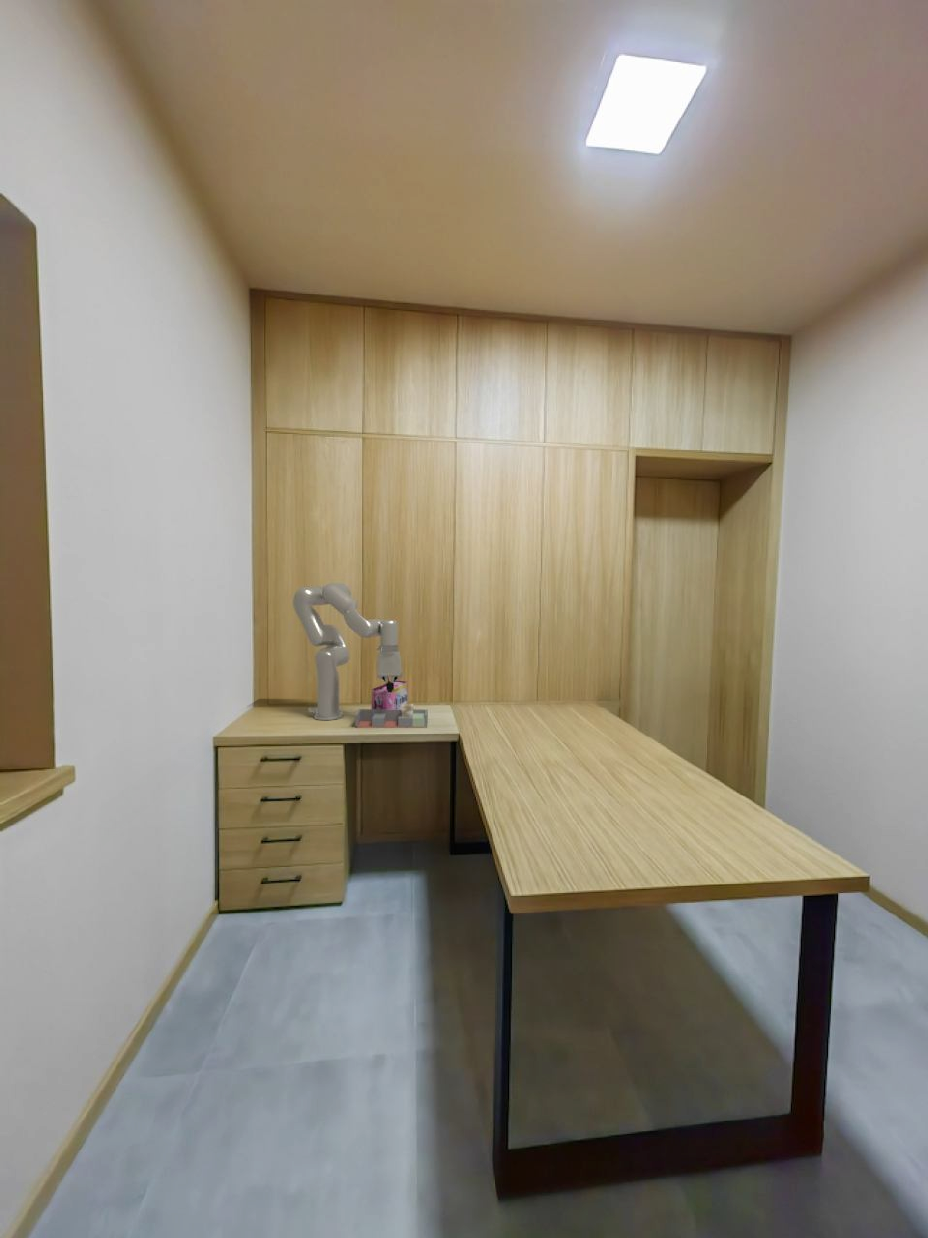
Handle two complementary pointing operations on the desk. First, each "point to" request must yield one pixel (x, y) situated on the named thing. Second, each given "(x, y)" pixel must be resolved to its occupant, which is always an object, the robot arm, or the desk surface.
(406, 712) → the cream block
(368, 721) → the track
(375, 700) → the gum box
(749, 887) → the desk surface
